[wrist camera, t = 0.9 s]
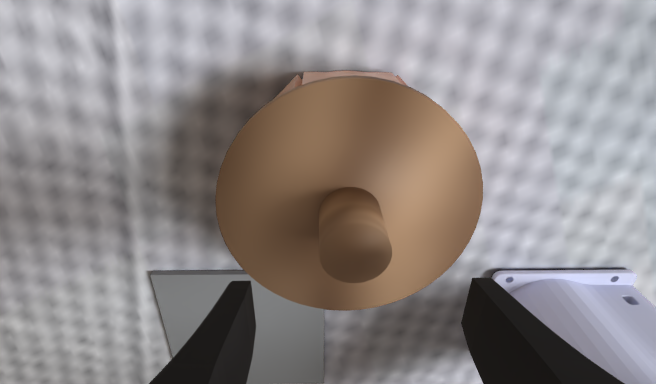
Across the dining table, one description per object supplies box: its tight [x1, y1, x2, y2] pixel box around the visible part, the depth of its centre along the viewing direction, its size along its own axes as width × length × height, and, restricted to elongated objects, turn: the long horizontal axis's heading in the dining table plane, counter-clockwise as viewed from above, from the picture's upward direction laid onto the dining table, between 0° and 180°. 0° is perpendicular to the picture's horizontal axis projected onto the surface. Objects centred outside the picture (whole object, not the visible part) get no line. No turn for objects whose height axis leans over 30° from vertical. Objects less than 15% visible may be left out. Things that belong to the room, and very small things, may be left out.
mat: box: [150, 270, 324, 384], centre depth 27 cm, size 11×11×1 cm
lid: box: [215, 75, 483, 310], centre depth 16 cm, size 12×12×4 cm
